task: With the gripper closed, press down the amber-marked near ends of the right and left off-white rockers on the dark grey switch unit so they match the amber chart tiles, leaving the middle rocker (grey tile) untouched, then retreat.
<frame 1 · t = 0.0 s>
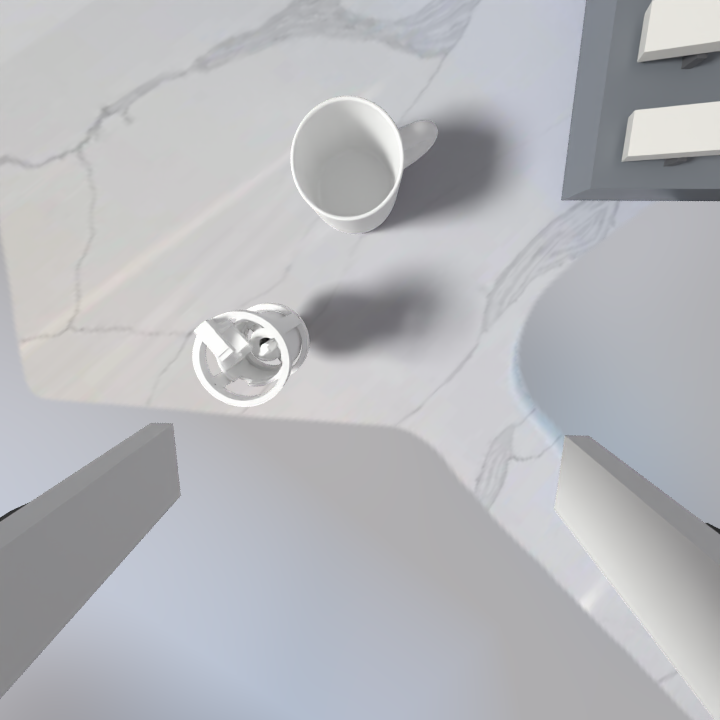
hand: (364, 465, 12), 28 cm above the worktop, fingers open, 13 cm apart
white plastic fitting: (286, 331, 40), on the worktop
mug: (371, 183, 37), on the worktop
switch unit: (661, 76, 33), on the worktop
switch C: (698, 130, 28), point 8 cm above the worktop, hinge at 16.0°
switch B: (719, 20, 26), point 8 cm above the worktop, hinge at 16.0°
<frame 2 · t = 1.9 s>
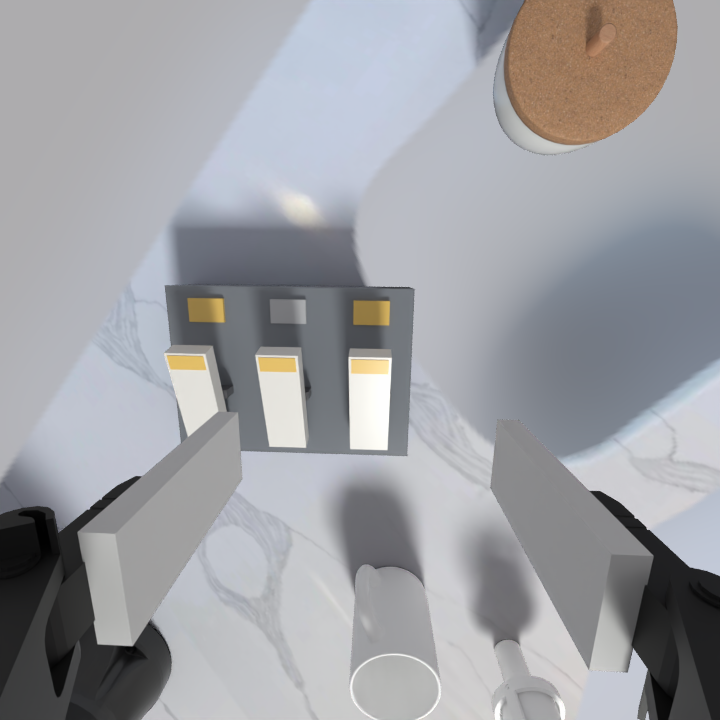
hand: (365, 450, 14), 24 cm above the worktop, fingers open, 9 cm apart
white plastic fitting: (506, 648, 44), on the worktop
mug: (383, 579, 43), on the worktop
switch unit: (301, 361, 37), on the worktop
switch C: (369, 402, 30), point 8 cm above the worktop, hinge at 16.0°
switch B: (284, 399, 30), point 8 cm above the worktop, hinge at 16.0°
lidded jar: (539, 104, 32), on the worktop
switch A: (200, 397, 31), point 8 cm above the worktop, hinge at 16.0°
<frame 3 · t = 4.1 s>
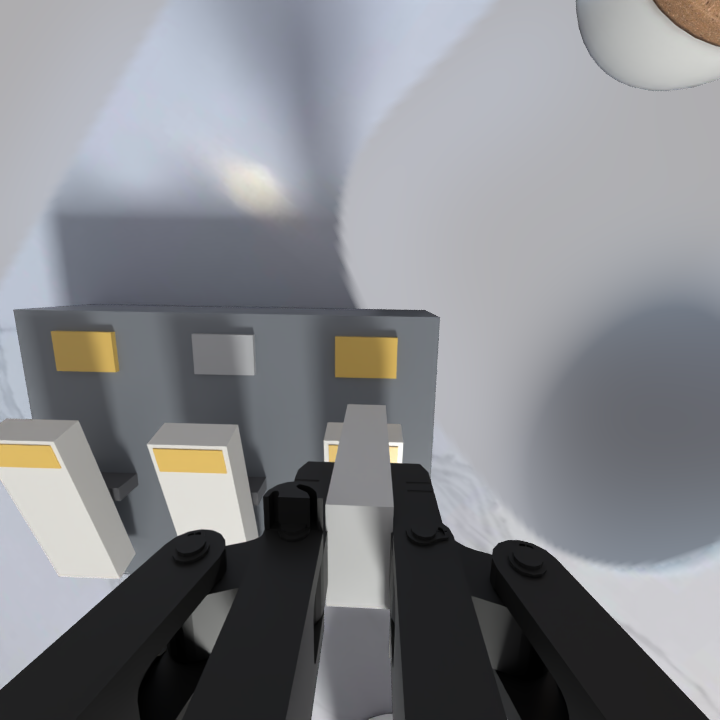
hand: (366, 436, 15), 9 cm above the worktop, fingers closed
switch unit: (259, 421, 24), on the worktop
switch C: (362, 515, 17), point 8 cm above the worktop, hinge at 10.0°, touching gripper
switch B: (213, 510, 17), point 8 cm above the worktop, hinge at 16.0°
lidded jar: (639, 16, 19), on the worktop
switch A: (67, 505, 17), point 8 cm above the worktop, hinge at 16.0°
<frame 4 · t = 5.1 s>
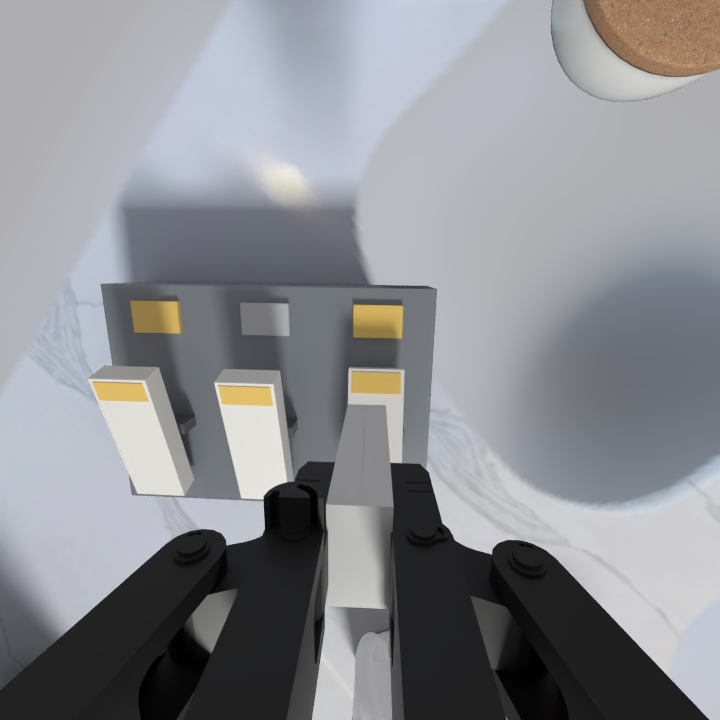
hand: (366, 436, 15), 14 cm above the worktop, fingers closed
mug: (391, 643, 35), on the worktop
switch unit: (288, 380, 29), on the worktop
switch C: (374, 443, 22), point 8 cm above the worktop, hinge at -10.9°
switch B: (259, 439, 22), point 8 cm above the worktop, hinge at 16.0°
lidded jar: (609, 36, 23), on the worktop
switch A: (147, 435, 23), point 8 cm above the worktop, hinge at 16.0°
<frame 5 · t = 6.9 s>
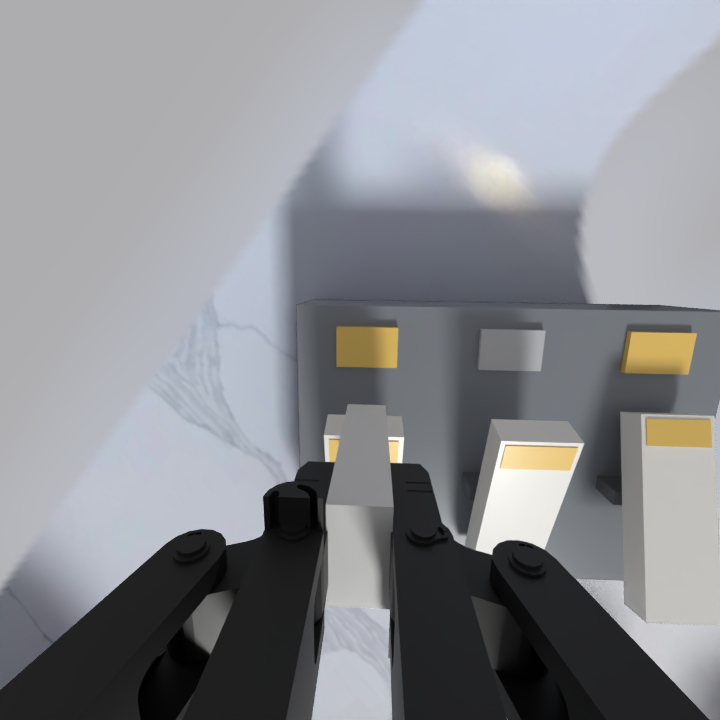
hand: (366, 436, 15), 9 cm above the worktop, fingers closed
switch unit: (473, 417, 24), on the worktop
switch C: (668, 512, 17), point 8 cm above the worktop, hinge at -15.9°
switch B: (513, 507, 17), point 8 cm above the worktop, hinge at 16.0°
switch A: (363, 502, 17), point 8 cm above the worktop, hinge at 15.3°, touching gripper
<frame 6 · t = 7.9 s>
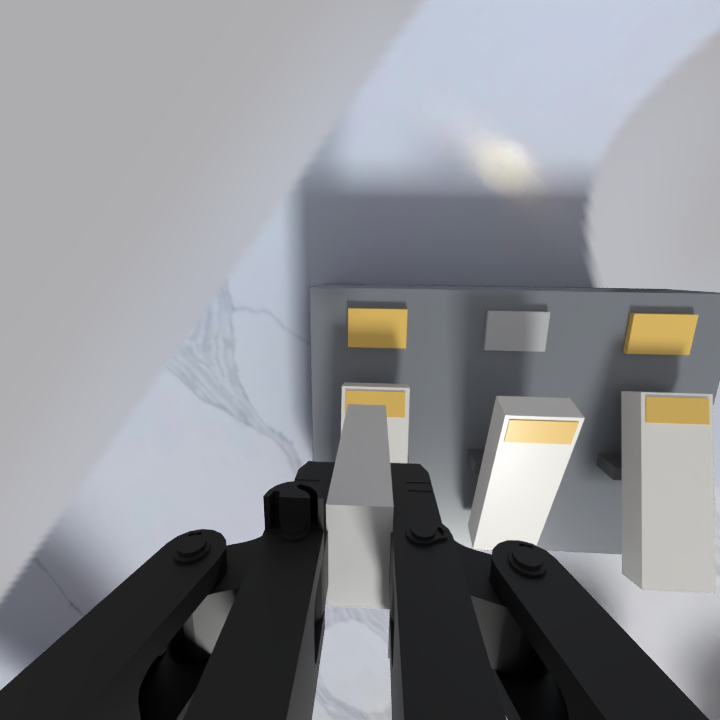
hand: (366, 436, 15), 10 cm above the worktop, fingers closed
switch unit: (479, 399, 25), on the worktop
switch C: (666, 486, 18), point 8 cm above the worktop, hinge at -16.2°
switch B: (517, 481, 18), point 8 cm above the worktop, hinge at 16.0°
switch A: (373, 474, 18), point 8 cm above the worktop, hinge at -10.0°
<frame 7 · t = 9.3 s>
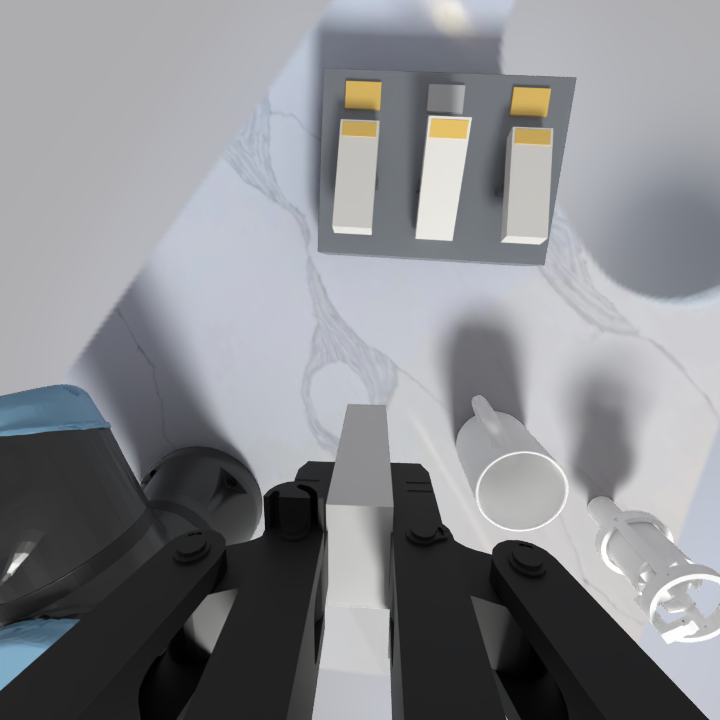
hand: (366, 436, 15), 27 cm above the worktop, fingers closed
white plastic fitting: (599, 506, 45), on the worktop
mug: (484, 427, 43), on the worktop
switch unit: (431, 183, 37), on the worktop
switch C: (526, 186, 30), point 8 cm above the worktop, hinge at -16.3°
switch B: (440, 182, 31), point 8 cm above the worktop, hinge at 16.0°
switch A: (356, 177, 31), point 8 cm above the worktop, hinge at -15.9°
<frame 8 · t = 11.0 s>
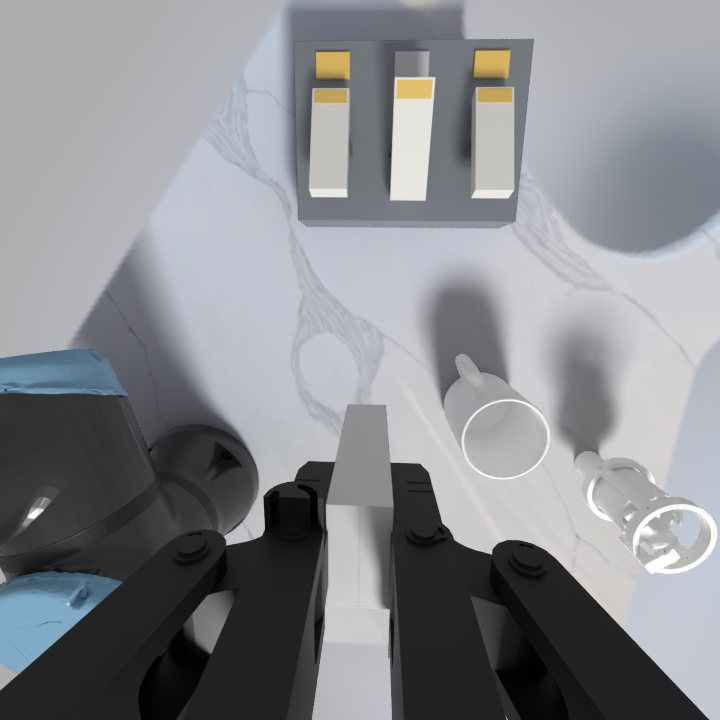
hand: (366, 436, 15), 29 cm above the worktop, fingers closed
white plastic fitting: (585, 461, 46), on the worktop
mug: (470, 389, 45), on the worktop
switch unit: (404, 152, 39), on the worktop
switch C: (492, 143, 32), point 8 cm above the worktop, hinge at -16.3°
switch B: (410, 143, 32), point 8 cm above the worktop, hinge at 16.0°
switch A: (330, 143, 32), point 8 cm above the worktop, hinge at -16.8°
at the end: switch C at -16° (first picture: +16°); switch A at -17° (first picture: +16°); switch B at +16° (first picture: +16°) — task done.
